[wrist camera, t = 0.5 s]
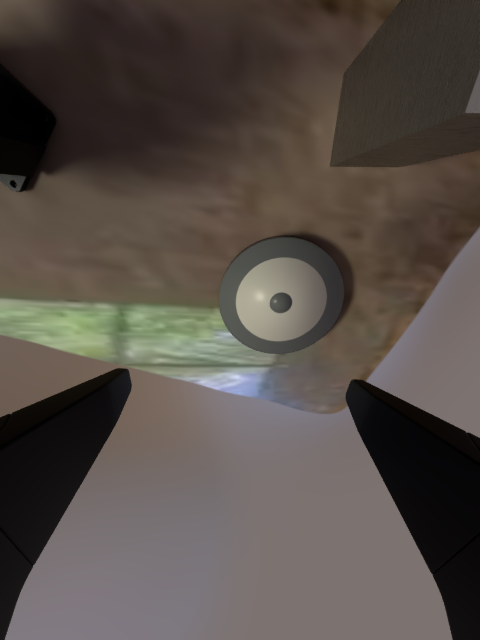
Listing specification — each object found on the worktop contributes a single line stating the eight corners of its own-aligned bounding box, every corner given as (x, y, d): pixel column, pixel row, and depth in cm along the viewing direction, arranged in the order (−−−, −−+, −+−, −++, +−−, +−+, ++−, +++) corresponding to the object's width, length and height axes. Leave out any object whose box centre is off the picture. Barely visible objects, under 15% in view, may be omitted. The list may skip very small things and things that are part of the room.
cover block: (329, 166, 17) (464, 112, 7) (344, 73, 15) (586, -238, 4) (398, 167, 17) (647, 114, 7) (423, 73, 15) (867, -242, 4)
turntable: (196, 298, 22) (193, 303, 21) (284, 205, 18) (287, 205, 17) (274, 364, 26) (276, 372, 24) (363, 297, 22) (369, 302, 21)
